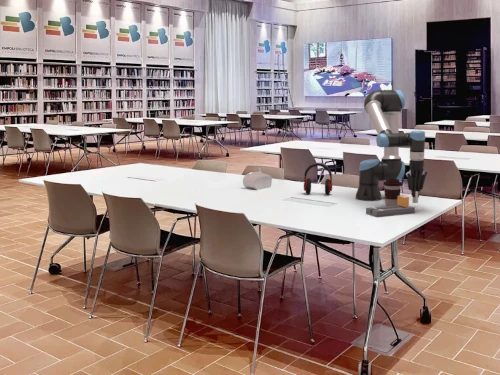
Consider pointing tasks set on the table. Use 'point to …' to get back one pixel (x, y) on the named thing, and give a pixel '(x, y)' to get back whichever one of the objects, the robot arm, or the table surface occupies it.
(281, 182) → the table surface
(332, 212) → the table surface
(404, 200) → the fader tab
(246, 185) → the vr headset
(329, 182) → the headphones
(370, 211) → the slider console
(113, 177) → the table surface
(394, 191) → the coffee cup
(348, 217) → the table surface
